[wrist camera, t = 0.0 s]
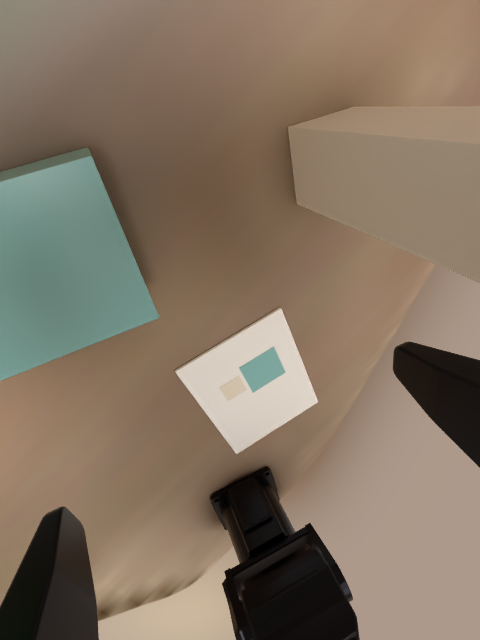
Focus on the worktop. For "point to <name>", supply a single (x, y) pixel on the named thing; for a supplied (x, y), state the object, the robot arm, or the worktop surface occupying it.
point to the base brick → (63, 264)
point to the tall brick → (397, 177)
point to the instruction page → (251, 381)
